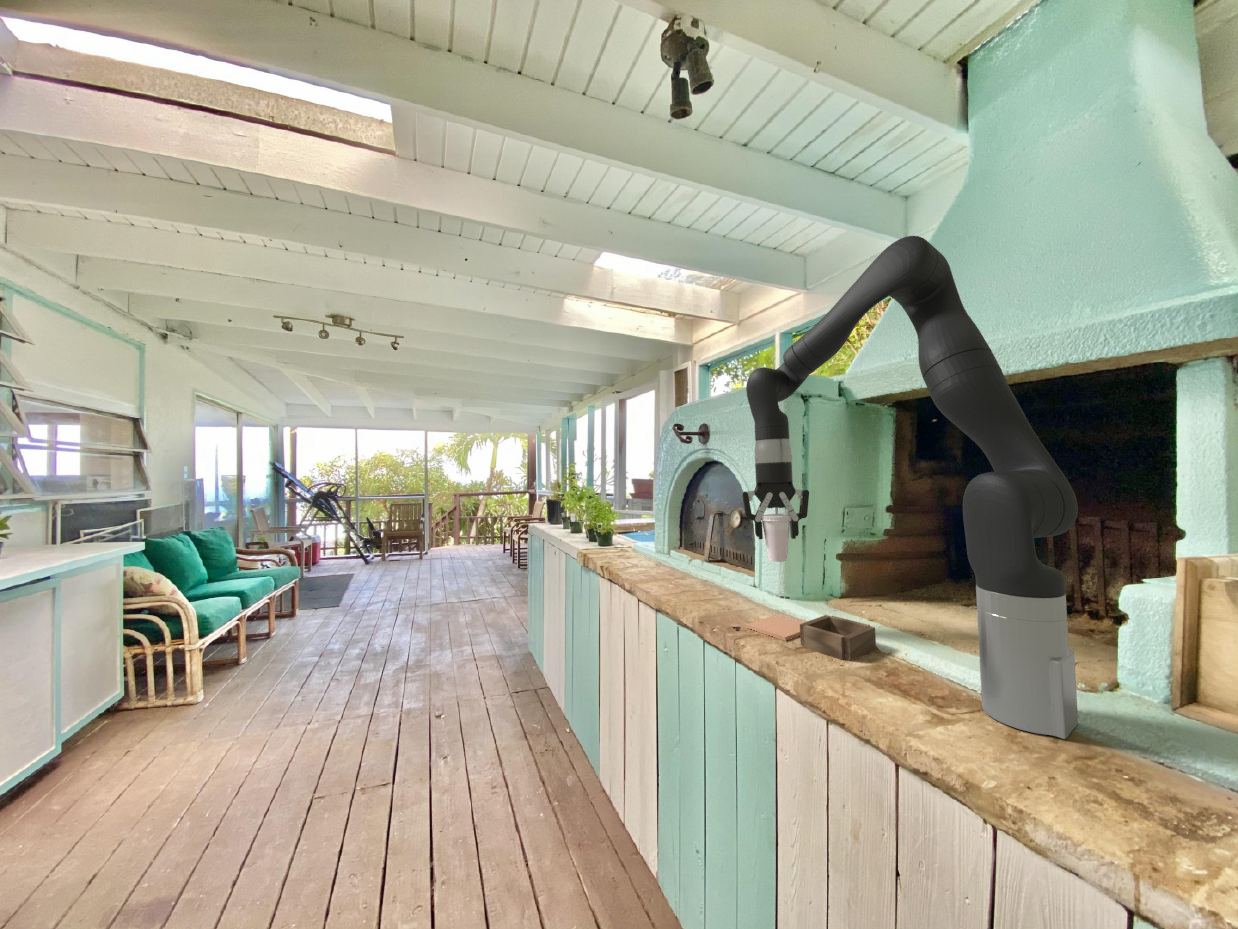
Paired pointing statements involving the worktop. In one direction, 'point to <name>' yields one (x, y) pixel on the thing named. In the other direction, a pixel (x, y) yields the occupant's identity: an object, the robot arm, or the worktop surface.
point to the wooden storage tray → (838, 637)
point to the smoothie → (776, 535)
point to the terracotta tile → (777, 627)
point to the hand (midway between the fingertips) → (776, 538)
